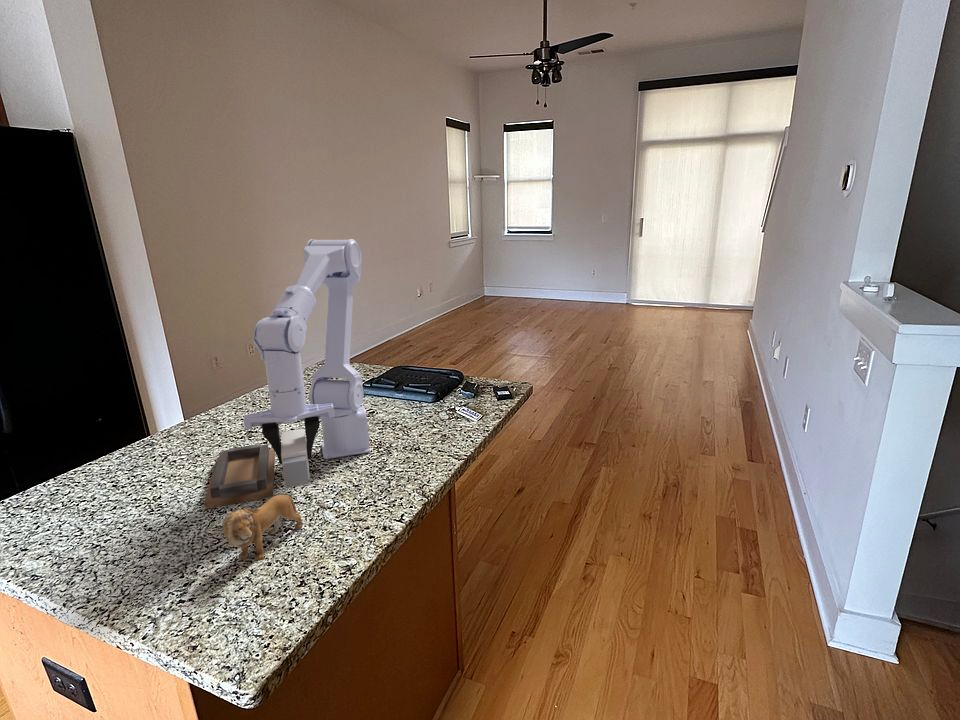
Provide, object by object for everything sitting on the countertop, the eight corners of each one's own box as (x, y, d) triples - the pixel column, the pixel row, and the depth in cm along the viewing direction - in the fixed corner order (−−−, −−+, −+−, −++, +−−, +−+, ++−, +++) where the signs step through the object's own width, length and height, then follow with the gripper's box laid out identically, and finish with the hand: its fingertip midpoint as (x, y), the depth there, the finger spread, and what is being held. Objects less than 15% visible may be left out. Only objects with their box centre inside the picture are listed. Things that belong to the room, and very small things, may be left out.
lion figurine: (250, 579, 71) (241, 523, 69) (219, 572, 73) (208, 517, 70) (311, 520, 85) (305, 471, 82) (283, 515, 86) (276, 467, 84)
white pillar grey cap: (307, 453, 96) (304, 428, 95) (310, 483, 85) (307, 456, 84) (284, 456, 95) (281, 431, 93) (284, 488, 84) (281, 460, 83)
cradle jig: (275, 453, 108) (273, 440, 107) (273, 496, 92) (271, 481, 91) (217, 463, 105) (215, 449, 104) (205, 508, 88) (202, 493, 87)
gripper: (237, 400, 81) (249, 477, 85) (332, 388, 85) (340, 462, 89) (241, 386, 87) (252, 458, 91) (329, 376, 92) (336, 445, 96)
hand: (295, 459), depth 91 cm, fingers closed on white pillar grey cap, 4 cm apart
